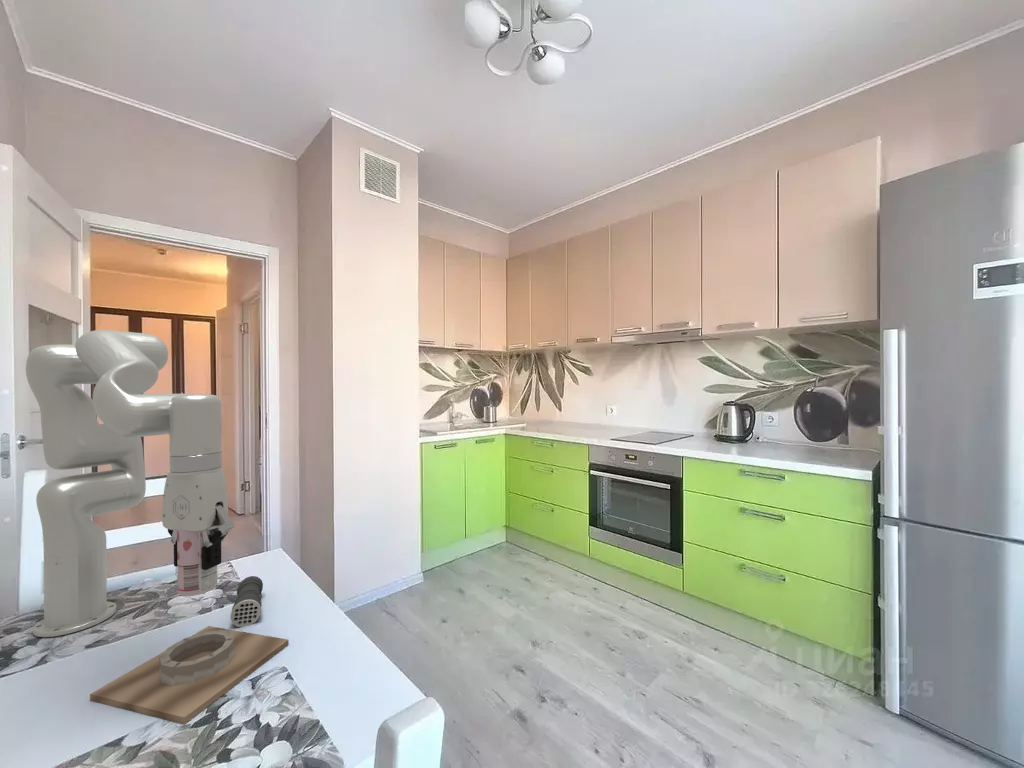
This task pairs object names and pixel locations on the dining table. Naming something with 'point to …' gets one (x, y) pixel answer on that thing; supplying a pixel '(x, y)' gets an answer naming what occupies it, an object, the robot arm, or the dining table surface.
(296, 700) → the dining table surface
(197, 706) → the socket board
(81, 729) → the dining table surface
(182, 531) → the beverage can
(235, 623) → the flashlight
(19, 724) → the dining table surface
